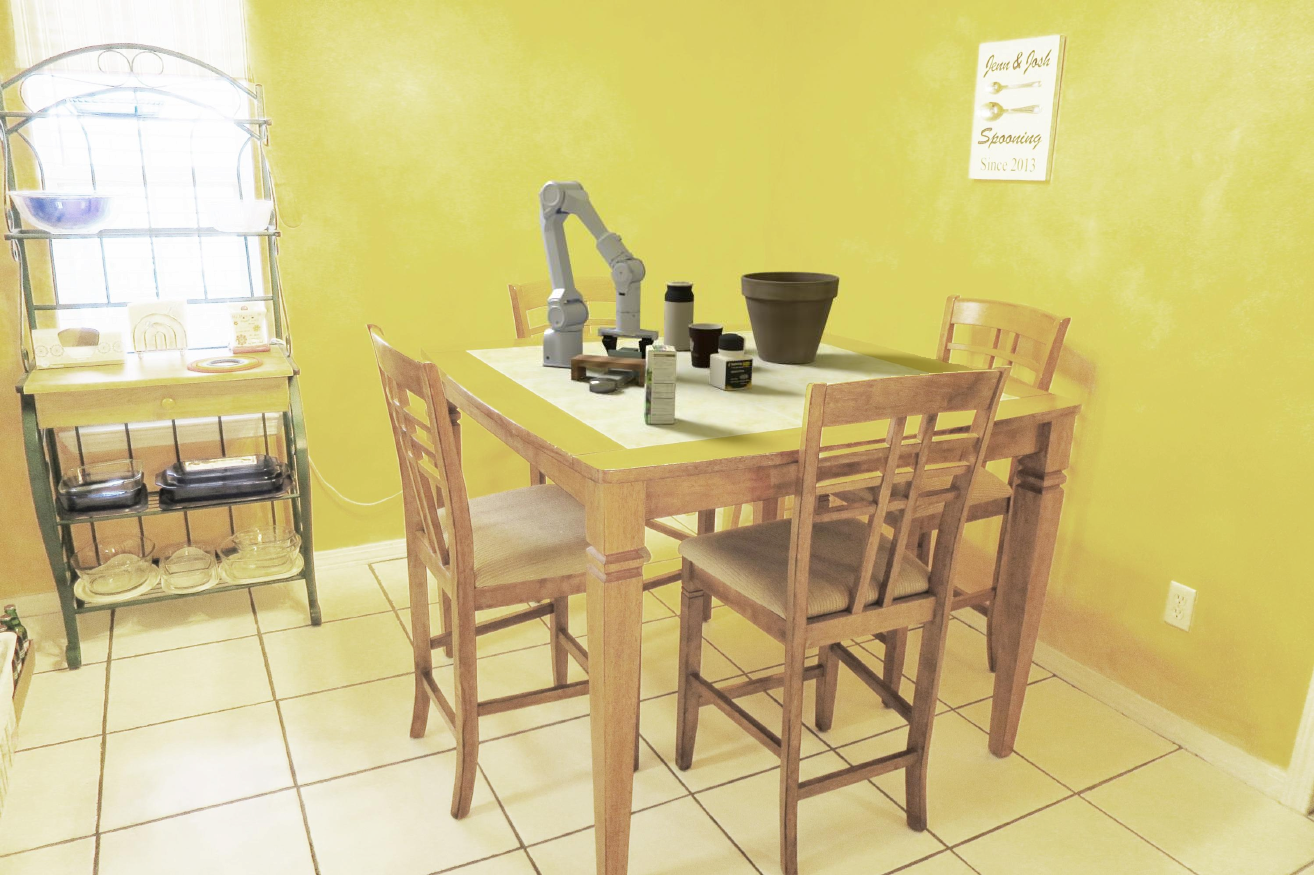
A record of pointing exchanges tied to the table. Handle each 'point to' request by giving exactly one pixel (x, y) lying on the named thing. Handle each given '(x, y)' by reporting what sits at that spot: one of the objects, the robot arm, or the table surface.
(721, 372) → the medicine bottle
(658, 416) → the syrup box
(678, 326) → the travel mug
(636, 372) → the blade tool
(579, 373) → the riser shelf
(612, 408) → the table surface
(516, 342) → the table surface
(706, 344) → the coffee mug
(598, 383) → the token
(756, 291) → the plant pot
